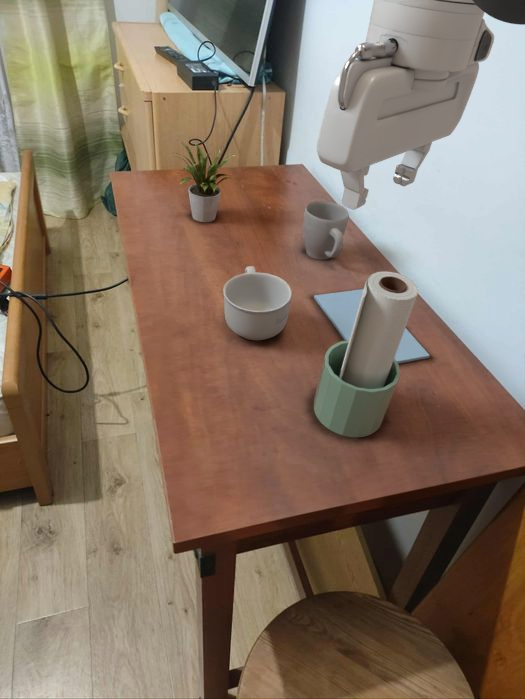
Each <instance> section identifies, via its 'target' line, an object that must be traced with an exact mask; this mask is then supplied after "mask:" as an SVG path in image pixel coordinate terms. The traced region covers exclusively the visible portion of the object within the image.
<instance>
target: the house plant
mask: <svg viewBox="0 0 525 699" xmlns="http://www.w3.org/2000/svg"><path fill="white" fill-rule="evenodd" d="M176 141H178V142H179V143H181V145H183V146H184V148H185V149H186V151H187V153H188V155H189V157H190V159H191V160H190V159H189V158H188V157H186V156H185V155H184V154H181V153H178V152H171V155H172V154H175V155H173V156H172V157H173V158H174V157H175V158H180V159H181V157H180V155H181V156H182V157H183V158H185V159H186V160H185V159H183V158H182V160H183V161H184V162H185V164H186V165H187V166H185V167H183V170H185V171H186V172H187V173H189V174H190V175H191V176H192V177H190V176H185V177H184V176H183V175H182V174H180V173H177V175H178V176H181V177H182V179H181V180H180V183H179V185H182V184H183V183H186V182H189V183H190V184H191V185H190V186H189V187H188V189H187V190H188V197H189V204H190V211H191V217H192V219H193V220H194V221H197V222H200V223H210V222H213V221H215V219H216V216H217V213H218V207H219V203H220V198H221V194H222V190H221V189H220V187H218V185H219V184H220V183H222V182H223V181H225V180H228V179H231V180H233V178H232V177H231V176H230V175H229V174H226V173H218V171H219V170H220V169H221V168H222V167H223V166H224V165H225V164H226V163H227V162H228V161H230V160H231V159H232V158H233V157H235V156H238V155H239V154H238V153H235V154H232V155H229V156H228V157H227V158H226V159H224V160H223V161H222V162H221V163H218V161H219V160H220V159H219V158H220V155H221V152H222V148H220V149H219V150H218V152H217V154H216V156H215V158H214V161H213V163H211V164H209V165H208V169H207V164H208V158H209V156H210V155H211V154H212V152H210V153H209V154H208V152H209V149H210V147H211V145H212V144H210V145H209V147H208V149H207V152H206V154H207V155H206V156H205V155H204V153H203V151H202V149H201V148H200V146H199V144H198V143H197V142H196V141H195V142H194V146H195V148H196V154H197V156H196V157H197V161H198V163H197V162H196V160H195V158H194V155H193V153H192V151H191V149H190V148H189V146H188V145H187V144H185V143H184V142H183V141H182V140H178V139H176ZM177 155H179V156H177ZM187 161H188V162H189V163H190V165H189V163H188V162H187ZM221 177H223V178H222V179H220V178H221ZM218 179H220V180H219V181H218V182H217V180H218ZM190 180H194V182H195V184H193V183H191V181H190ZM216 182H217V183H216Z"/></svg>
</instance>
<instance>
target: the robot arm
mask: <svg viewBox="0 0 525 699" xmlns="http://www.w3.org/2000/svg"><path fill="white" fill-rule="evenodd" d="M485 14H487V16H489V17H491V18H493V19H495V20H498V21H500V22H502V23H507V24H512V25H519V26H521V25H524V26H525V0H373V3H372V8H371V13H370V17H369V23H368V28H367V32H366V33H367V34H366V38H365V42H362V43H359V44H358V45H357V46H356V47H355V49H354V52H353V53H351V55H350V56H349V58H348V60H345V62H343V64H342V68H341V69H340V70H339V71H338V73H337V75H336V76H335V78H334V81H333V83H332V86H331V88H330V92H329V95H328V98H327V102H326V105H325V110H324V113H323V117H322V121H321V125H320V130H319V134H318V137H317V138H318V139H317V143H316V152H317V156H318V159H319V162H321V163H322V164H324V165H326V166H328V167H331V168H333V169H335V170H338V171H340V176H341V180H342V185H343V192H342V197H341V204H342V206H343V207H345V208H348V209H350V210H353V211H354V210H357V209H359V208H361V207H363V206H365V205H366V202H367V197H368V194H369V188H366V187H365V177H366V176H367V175H368V174H369V172H370V167H371V166H372V165H375V164H378V163H380V162H383V161H385V160H389V159H391V158H394V157H397V156H399V155H403V154H404V155H403V157H402V159H401V162H400V164H398V165H396V167H395V170H394V175H393V178H392V180H393V183H394V184H397V185H400V186H401V187H407V186H409V185H411V184H413V183H414V182H415V180H416V176H417V174H418V170H419V169H420V167H421V165H422V164H423V163H424V160H425V159H426V157H427V155H428V154H429V152H430V150H431V147H432V144H433V142H436V141H438V140H441V139H444V138H446V137H449V136H451V135H452V133H453V132H454V131H455V130H456V128H457V126H458V125H459V123H460V121H461V119H462V117H463V114H464V112H465V110H466V107H467V105H468V102H469V100H470V97H471V95H472V91H473V89H474V87H475V84H476V81H477V79H478V75H479V71H480V70H479V69H480V63H482V62H484V61H486V60H487V59H488V58H489V55H490V53H491V51H492V48H493V45H494V43H495V34H494V32H493V31H491V29H490V28H489V27H488V25H487V24H486V20H485V19H484V16H485Z"/></svg>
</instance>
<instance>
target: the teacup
mask: <svg viewBox="0 0 525 699" xmlns="http://www.w3.org/2000/svg"><path fill="white" fill-rule="evenodd" d="M222 292H223V307H224V308H223V309H224V319H225V322H226V324H227V326H228V328H229V329H230V330H231V331H232V332H233V333H234V334H235V335H237V336H239V337H241V338H243V339H246V340H248V341H249V340H250V341H264V340H267V339H270V338H274V337H275V336H277V335H278V334H280V332H282V331H283V330H284V328H285V327H286V324H287V322H288V318H289V314H290V306H291V300H292V296H293V291H292V288H291V286H290V285H289V283H287V282H286V280H284V279H283V278H281V277H279V276H278V275H274V274H272V273H267V272H257V269H256V267H255V266H253V265H249V266H246V267H245V269H244V273H241V274H237V275H235V276H233V277H231V278H230V279H228V280H227V281H226V283H224V286H223V290H222Z"/></svg>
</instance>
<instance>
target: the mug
mask: <svg viewBox="0 0 525 699" xmlns="http://www.w3.org/2000/svg"><path fill="white" fill-rule="evenodd" d="M304 208H305V209H304V214H303V220H302V235H303V236H302V237H303V242H304V243H303V244H304V246H305V252H306V254H307V256H309V257H310V258H312V259H314V260H319V261H320V260H321V261H323V260H324V261H325V260H328V259H330V258H331V259H332V258H336V257H338V256H339V255H340V253H341V251H342V250H343V246H344V245H343V244H344V235H345V232H346V231H347V226H348V223H349V218H350V213H349V211H348V209H347V207H345V206H344V205H341V204H338V203H336V202H333V201H325V200H315V201H312V202H309V203H308V204H307V205H306V206H305V207H304Z"/></svg>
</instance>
